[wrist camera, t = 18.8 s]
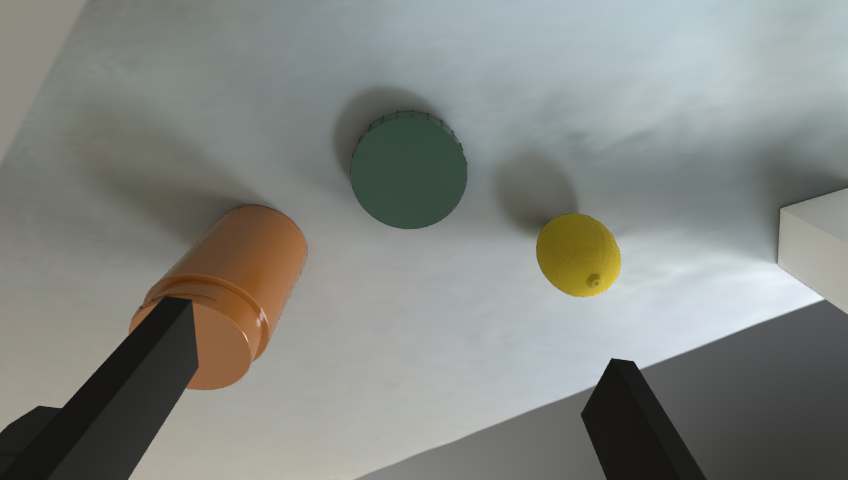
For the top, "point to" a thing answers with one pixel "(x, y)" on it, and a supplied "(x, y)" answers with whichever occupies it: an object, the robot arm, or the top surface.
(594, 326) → the top surface
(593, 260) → the lemon
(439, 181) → the jar lid
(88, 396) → the robot arm
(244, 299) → the jam jar
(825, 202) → the milk
